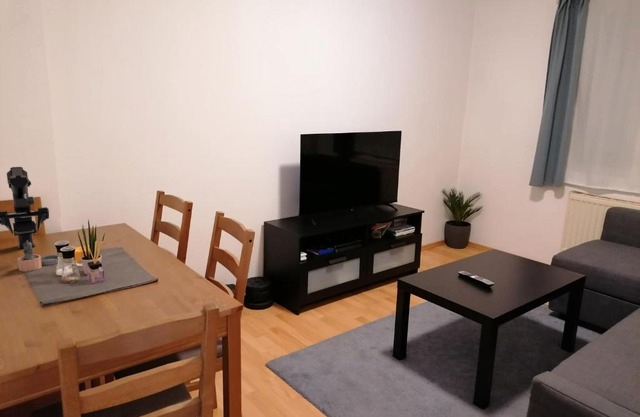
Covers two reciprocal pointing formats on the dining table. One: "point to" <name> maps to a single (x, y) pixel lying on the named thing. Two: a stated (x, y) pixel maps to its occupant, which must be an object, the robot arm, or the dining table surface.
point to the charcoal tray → (49, 260)
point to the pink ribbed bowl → (29, 263)
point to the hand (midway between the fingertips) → (25, 232)
